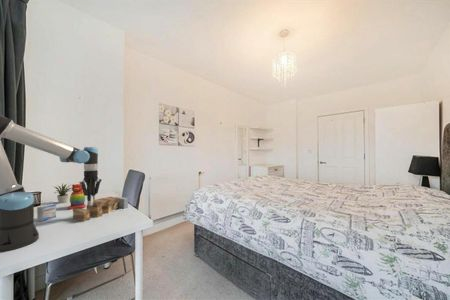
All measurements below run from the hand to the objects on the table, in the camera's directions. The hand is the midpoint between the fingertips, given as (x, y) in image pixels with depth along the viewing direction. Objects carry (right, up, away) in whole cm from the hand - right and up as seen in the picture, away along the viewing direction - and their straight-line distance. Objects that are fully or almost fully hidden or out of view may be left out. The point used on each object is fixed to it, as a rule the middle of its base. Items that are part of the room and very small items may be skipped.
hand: (90, 205), depth 125 cm
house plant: (-45, -7, +29) cm, 54 cm away
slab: (+4, -1, +8) cm, 9 cm away
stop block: (+9, -7, +20) cm, 23 cm away
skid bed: (-1, -7, -2) cm, 7 cm away
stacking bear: (-24, -7, +18) cm, 31 cm away
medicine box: (-24, -7, -5) cm, 26 cm away
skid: (+6, -7, +12) cm, 15 cm away
